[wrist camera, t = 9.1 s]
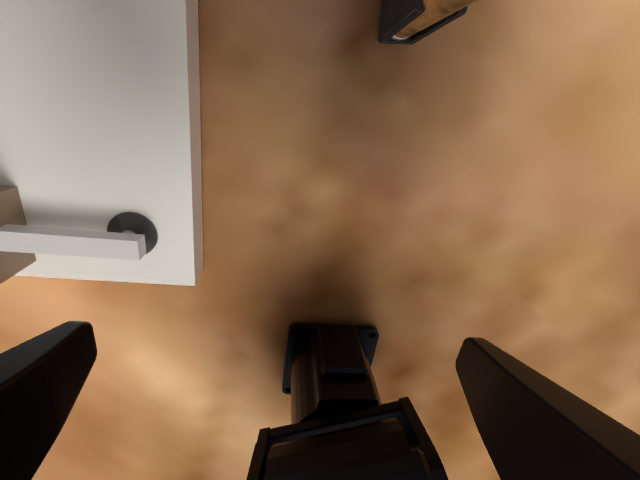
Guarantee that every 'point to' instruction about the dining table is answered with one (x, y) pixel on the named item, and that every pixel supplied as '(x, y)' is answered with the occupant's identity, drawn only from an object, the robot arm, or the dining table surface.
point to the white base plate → (100, 140)
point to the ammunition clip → (416, 18)
